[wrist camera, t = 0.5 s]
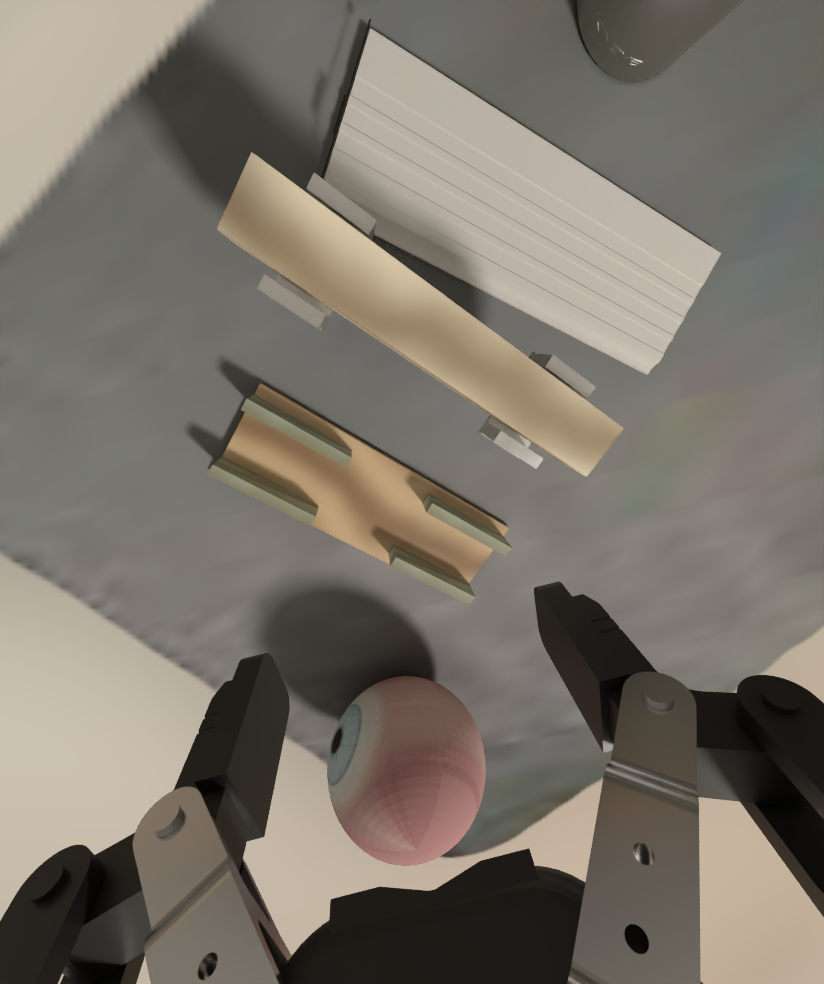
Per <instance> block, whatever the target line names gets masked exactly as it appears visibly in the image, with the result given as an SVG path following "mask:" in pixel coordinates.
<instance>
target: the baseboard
mask: <svg viewBox="0 0 824 984" xmlns="http://www.w3.org/2000/svg"><path fill="white" fill-rule="evenodd" d="M370 21H371V19H370V20H369V23H368V27H367V31H368V28H369V26H370ZM367 31H366V34H367ZM366 34H365V37H366ZM365 37H364V40H365ZM363 44H364V41H363ZM363 44H362V47H363ZM362 47H361V50H362ZM361 50H360V53H361ZM359 57H360V54H359ZM359 57H358V60H359ZM358 60H357V63H358ZM357 63H356V66H357ZM355 70H356V67H355ZM355 70H354V73H355ZM354 73H353V76H354ZM352 80H353V77H352ZM352 80H351V83H352ZM351 83H350V86H351ZM350 86H349V89H350ZM348 93H349V90H348ZM348 93H347V96H348ZM347 96H346V95H344V101H342V104H341V107H342V108H340V111H339V115H338V119H337V122H336V125H335V129H334V134H335V135H336V132H337V129H338V126H337V125H339V122H340V119H341V116H340V115H342V112H343V109H344V106H345V102H346V99H347ZM336 128H337V129H336ZM335 131H336V132H335ZM334 138H335V136H334ZM333 142H334V139H333ZM333 142H332V145H333ZM332 145H331V148H332ZM330 151H331V149H330ZM329 155H330V152H329ZM329 155H328V158H329ZM328 158H327V161H328ZM326 165H327V162H326ZM326 165H325V168H326ZM325 168H324V171H325ZM323 174H324V172H323ZM322 178H323V175H322ZM324 180H325V181H326V182H327V183H329V184H330V185H331V186H333V187H334V188H335V189H336V190H338V191H339V192H340V193H342V194H343V195H344V196H346V197H347V198H348V199H350V200H351V201H352V202H354V203H355V204H356V205H357V206H359V207H360V208H361V209H363V210H364V211H365V212H367V213H368V214H369V215H371V216H372V217H373V218H374V219H376V227H375V235H374V236H376V237H378V238H380V239H382V240H384V241H386V242H388V243H390V244H392V245H394V246H396V247H398V248H400V249H402V250H404V251H406V252H408V253H410V254H412V255H413V256H415V257H417V258H419V259H421V260H423V261H425V262H427V263H429V264H431V265H433V266H435V267H437V268H439V269H441V270H443V271H445V272H447V273H449V274H451V275H453V276H454V277H456V278H458V279H460V280H462V281H464V282H466V283H468V284H470V285H472V286H474V287H476V288H478V289H480V290H482V291H484V292H486V293H488V294H490V295H492V296H494V297H496V298H497V299H499V300H501V301H503V302H505V303H507V304H509V305H511V306H513V307H515V308H517V309H519V310H521V311H523V312H525V313H527V314H529V315H531V316H533V317H535V318H537V319H538V320H540V321H542V322H544V323H546V324H548V325H550V326H552V327H554V328H556V329H558V330H560V331H562V332H564V333H566V334H568V335H570V336H572V337H574V338H576V339H578V340H579V341H581V342H583V343H585V344H587V345H589V346H591V347H593V348H595V349H597V350H599V351H601V352H603V353H605V354H607V355H609V356H611V357H613V358H615V359H617V360H619V361H621V362H622V363H624V364H626V365H628V366H630V367H632V368H634V369H636V370H638V371H640V372H642V373H644V374H646V375H648V374H649V372H650V370H651V369H652V368H653V367H654V366H655V365H656V364H657V363H659V362H660V360H661V359H662V357H663V355H664V352H665V350H666V349H667V347H668V345H669V343H670V342H671V341H672V339H673V337H674V334H675V333H676V331H677V329H678V327H679V326H680V324H681V323H682V322H683V320H684V317H685V315H686V313H687V311H688V310H689V308H690V306H691V305H692V304H693V302H694V300H695V297H696V296H697V294H698V292H699V290H700V288H701V287H702V286H703V285H704V283H705V281H706V279H707V277H708V276H709V274H710V272H711V270H712V269H713V267H714V265H715V263H716V262H717V260H718V258H719V256H720V254H721V253H720V252H718V251H717V250H715V249H714V248H712V247H710V246H709V245H707V244H706V243H704V242H703V241H701V240H700V239H698V238H696V237H695V236H693V235H692V234H690V233H689V232H687V231H686V230H684V229H682V228H681V227H679V226H678V225H676V224H675V223H673V222H672V221H670V220H668V219H667V218H665V217H664V216H662V215H661V214H659V213H658V212H656V211H654V210H653V209H651V208H650V207H648V206H647V205H645V204H644V203H642V202H640V201H639V200H637V199H636V198H634V197H633V196H631V195H629V194H628V193H626V192H625V191H623V190H622V189H620V188H619V187H617V186H615V185H614V184H612V183H611V182H609V181H608V180H606V179H605V178H603V177H601V176H600V175H598V174H597V173H595V172H594V171H592V170H591V169H589V168H587V167H586V166H584V165H583V164H581V163H580V162H578V161H577V160H575V159H573V158H572V157H570V156H569V155H567V154H566V153H564V152H563V151H561V150H559V149H558V148H556V147H555V146H553V145H552V144H550V143H549V142H547V141H545V140H544V139H542V138H541V137H539V136H538V135H536V134H534V133H533V132H531V131H530V130H528V129H527V128H525V127H524V126H522V125H520V124H519V123H517V122H516V121H514V120H513V119H511V118H510V117H508V116H506V115H505V114H503V113H502V112H500V111H499V110H497V109H496V108H494V107H492V106H491V105H489V104H488V103H486V102H485V101H483V100H482V99H480V98H478V97H477V96H475V95H474V94H472V93H471V92H469V91H468V90H466V89H464V88H463V87H461V86H460V85H458V84H457V83H455V82H454V81H452V80H450V79H449V78H447V77H446V76H444V75H443V74H441V73H439V72H438V71H436V70H435V69H433V68H432V67H430V66H429V65H427V64H425V63H424V62H422V61H421V60H419V59H418V58H416V57H415V56H413V55H411V54H410V53H408V52H407V51H405V50H404V49H402V48H401V47H399V46H397V45H396V44H394V43H393V42H391V41H390V40H388V39H387V38H385V37H383V36H382V35H380V34H379V33H377V32H376V31H374V30H373V29H371V28H370V31H369V34H368V38H367V41H366V44H365V47H364V51H363V54H362V57H361V60H360V64H359V67H358V70H357V73H356V77H355V81H354V84H353V87H352V90H351V94H350V96H349V99H348V103H347V107H346V110H345V113H344V116H343V120H342V122H341V125H340V129H339V133H338V136H337V139H336V143H335V146H334V148H333V152H332V155H331V159H330V162H329V165H328V169H327V172H326V174H325V178H324Z"/></svg>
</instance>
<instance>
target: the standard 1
mask: <svg viewBox="0 0 824 984" xmlns="http://www.w3.org/2000/svg"><path fill="white" fill-rule="evenodd" d="M306 189H307V192H308V194H309V195H310V196H312V197H313V198H314V199H316V200H317V201H318V202H320V203H321V204H322V205H324V206H325V207H326V208H328V209H329V210H331V211H332V212H333V213H335V214H336V215H337V216H339V217H340V218H341V219H343V220H344V221H345V222H347V223H348V224H349V225H351V226H352V227H353V228H355V229H356V230H357V231H359V232H360V233H361V234H363V235H364V236H365V237H367V238H368V239H370V240H372V239H373V237H374V235H375V227H376V219H374V218H373V217H372V216H371V215H369V214H368V213H367V212H365V211H364V210H363V209H361V208H360V207H359V206H357V205H356V204H355V203H354V202H352V201H351V200H350V199H348V198H347V197H346V196H344V195H343V194H342V193H340V192H339V191H338V190H336V189H335V188H334V187H333V186H331V185H330V184H329V183H327V182H326V181H325V180H323V179H322V178H321V177H319V176H318V175H317V174H315V173H313V175H312V177H311V179H310V181H309V184H308V186H307V188H306ZM258 289H259V290H261V291H262V292H264V293H266V294H267V296H269V297H270V298H272V299H273V300H275V301H277V302H278V303H280V304H281V305H283V306H284V307H286V308H287V309H289V310H290V311H292V312H294V313H295V314H297V315H298V316H300V317H301V318H303V319H304V320H306V321H307V322H309V323H311V324H312V325H314V326H315V327H317V328H318V329H320V330H321V331H323V329H324V328H325V326H326V324H327V322H328V320H329V318H330V316H331V315H332V313H333V311H334V310H332V309H331V308H329V307H328V306H326V305H325V304H323V303H322V302H320V301H319V300H317V299H316V298H314V297H313V296H311V295H310V294H308V293H307V292H305V291H304V290H302V289H301V288H299V287H298V286H296V285H295V284H293V283H292V282H290V281H289V280H287V279H286V278H284V277H283V276H281V275H280V274H278V275H277V277H276V279H275V281H274V280H272V279H271V278H269V277H268V276H266V275H265V274H264V276H263V278H262V280H261V282H260V284H259V286H258Z"/></svg>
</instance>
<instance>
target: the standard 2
mask: <svg viewBox="0 0 824 984" xmlns="http://www.w3.org/2000/svg"><path fill="white" fill-rule="evenodd" d="M528 358H530V359H531V360H532V361H534V362H535V363H536V364H538V365H539V366H540V367H542V368H543V369H544V370H546V371H547V372H548V373H550V374H551V375H553V376H554V377H555V378H557V379H558V380H559V381H561V382H562V383H563V384H565V385H566V386H567V387H569V388H570V389H571V390H573V391H574V392H575V393H577V394H578V395H579V396H581V397H585V398H588V397H589V396H590V394H591V393H592V392H593V390H594V389H595V386H593V385H592V384H591V383H590V382H588V381H587V380H586V379H584V378H583V377H582V376H580V375H579V374H578V373H576V372H575V371H574V370H572V369H571V368H570V367H569V366H567V365H566V364H565V363H563V362H562V361H561V360H559V359H558V358H557V357H555V356H554V355H548V354H537V353H536V352H532V353H531V354H530V356H529V357H528ZM479 433H481V434H482V435H484V436H485V437H487V438H488V439H490V440H491V441H493V442H494V443H496V444H497V445H499V446H501V447H502V448H504V449H505V450H507V451H508V452H510V453H511V454H513V455H514V456H516V457H518V458H519V459H522V460H523V461H525V462H526V463H528V464H529V465H531V466H533V467H534V468H536V469H537V467H538V466H539V464H540V463H541V462H542V460H543V458H542V457H540V456H539V455H537V454H536V453H534V452H533V451H531V450H530V449H528V447H529V445H530V444H531V442H530V441H528V440H527V439H525V438H524V437H522V436H521V435H519V434H518V433H516V432H515V431H513V430H512V429H510V428H509V427H507V426H506V425H504V424H503V423H501V422H500V421H498V420H497V419H495V418H494V417H492V416H491V415H489V417H488V418H487V420H486V421H485V423H484V424H483V426H482V427H481V429H480V430H479Z"/></svg>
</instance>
